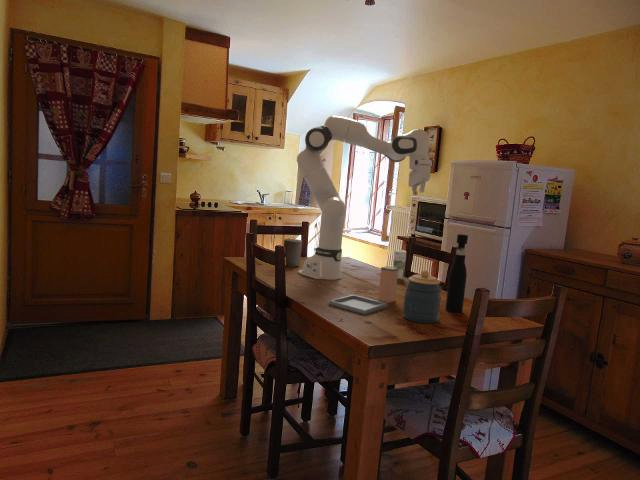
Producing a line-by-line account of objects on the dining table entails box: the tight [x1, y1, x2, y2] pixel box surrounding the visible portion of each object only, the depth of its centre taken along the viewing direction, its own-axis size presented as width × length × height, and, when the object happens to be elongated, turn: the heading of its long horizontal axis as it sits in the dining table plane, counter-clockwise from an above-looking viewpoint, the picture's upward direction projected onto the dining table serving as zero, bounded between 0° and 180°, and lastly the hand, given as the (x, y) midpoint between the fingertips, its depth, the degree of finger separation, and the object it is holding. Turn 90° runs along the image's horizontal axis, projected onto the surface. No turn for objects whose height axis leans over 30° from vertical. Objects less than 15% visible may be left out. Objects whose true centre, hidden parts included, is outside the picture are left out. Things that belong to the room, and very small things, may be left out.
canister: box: [402, 269, 443, 324], centre depth 170 cm, size 13×13×18 cm
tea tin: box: [377, 265, 399, 304], centre depth 193 cm, size 5×5×14 cm
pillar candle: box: [283, 238, 303, 268], centre depth 252 cm, size 10×10×15 cm
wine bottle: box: [445, 233, 469, 314], centre depth 184 cm, size 6×6×30 cm
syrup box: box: [392, 248, 407, 281], centre depth 240 cm, size 6×6×14 cm
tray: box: [328, 294, 388, 316], centre depth 181 cm, size 16×16×2 cm
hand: (418, 193), depth 221 cm, fingers open, 8 cm apart
